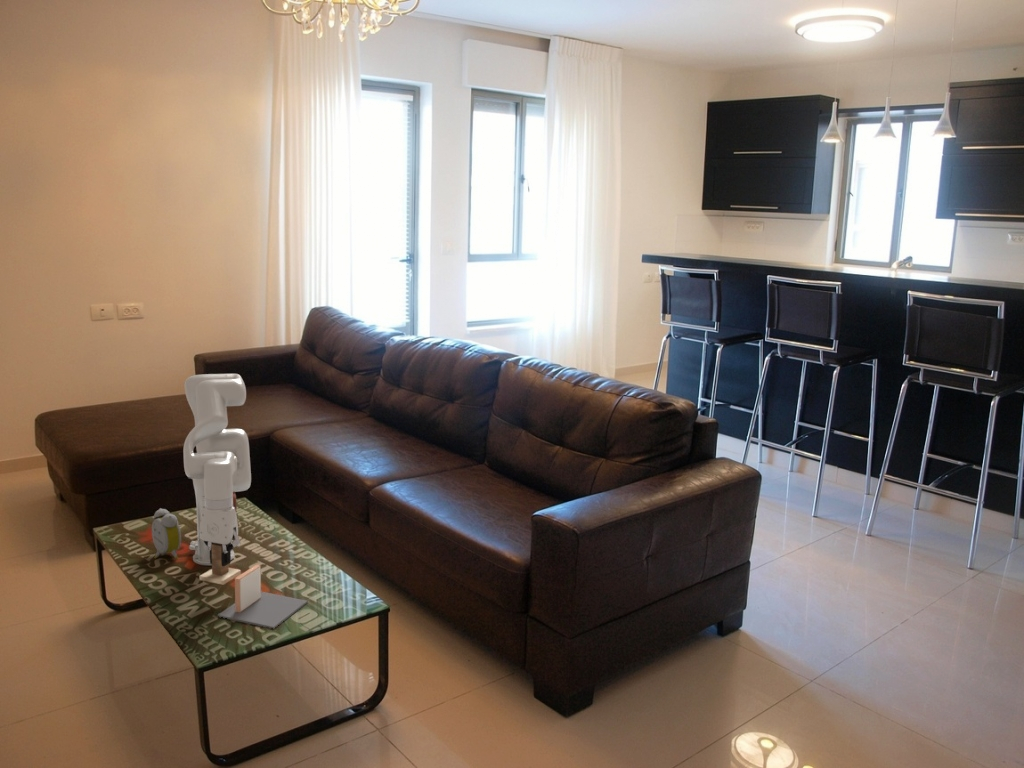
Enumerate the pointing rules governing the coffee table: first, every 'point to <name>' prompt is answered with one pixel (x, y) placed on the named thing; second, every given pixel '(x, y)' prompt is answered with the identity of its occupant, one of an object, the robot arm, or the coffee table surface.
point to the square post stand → (219, 568)
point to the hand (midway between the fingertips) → (220, 562)
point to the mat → (266, 610)
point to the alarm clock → (166, 533)
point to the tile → (247, 588)
